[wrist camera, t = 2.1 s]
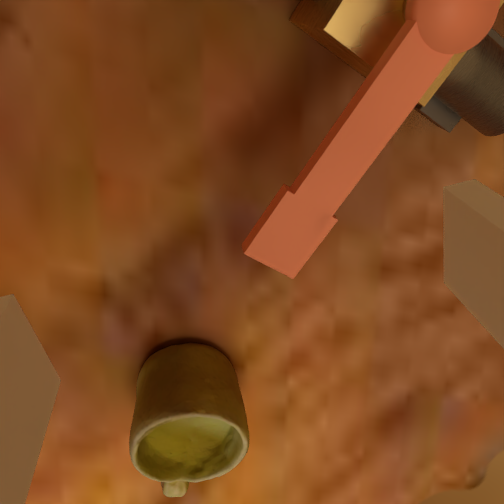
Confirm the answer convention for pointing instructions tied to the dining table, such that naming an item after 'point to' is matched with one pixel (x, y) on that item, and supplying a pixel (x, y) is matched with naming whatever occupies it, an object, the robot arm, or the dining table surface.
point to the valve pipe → (379, 38)
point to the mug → (187, 417)
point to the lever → (366, 128)
